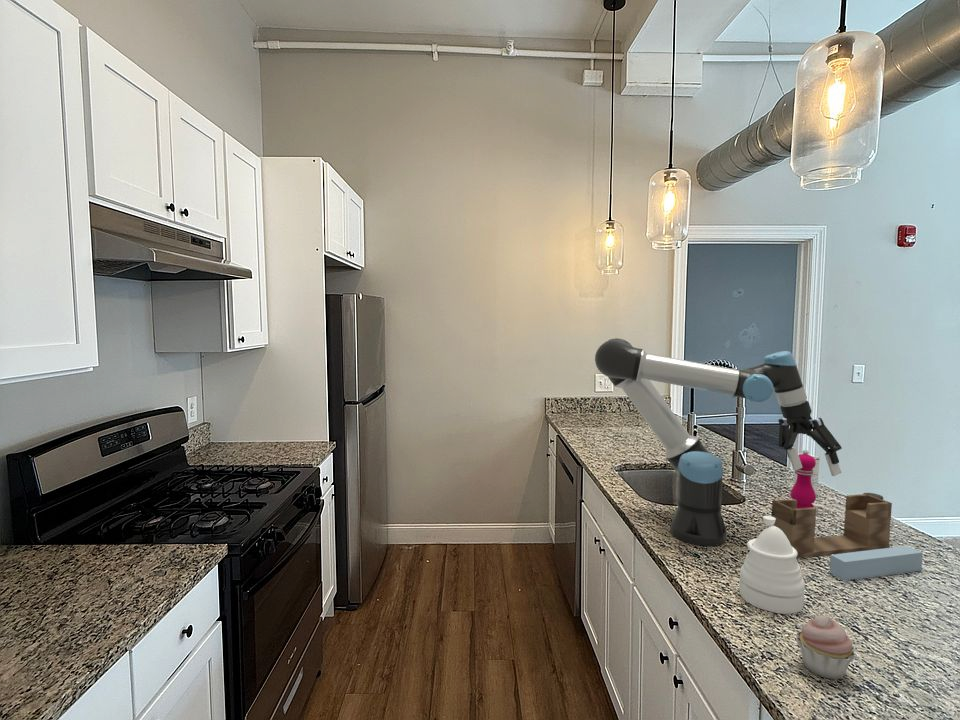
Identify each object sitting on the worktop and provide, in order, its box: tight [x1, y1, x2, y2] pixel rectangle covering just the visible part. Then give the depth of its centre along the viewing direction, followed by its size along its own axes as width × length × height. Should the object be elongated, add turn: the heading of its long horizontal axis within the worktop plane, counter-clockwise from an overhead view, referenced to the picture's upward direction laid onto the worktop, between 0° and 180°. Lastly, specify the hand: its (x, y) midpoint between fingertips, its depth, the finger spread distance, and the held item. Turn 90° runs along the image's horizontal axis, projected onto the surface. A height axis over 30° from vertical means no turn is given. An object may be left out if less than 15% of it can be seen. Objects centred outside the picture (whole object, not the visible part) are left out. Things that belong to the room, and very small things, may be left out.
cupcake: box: [795, 615, 857, 680], centre depth 95 cm, size 9×9×10 cm
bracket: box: [771, 493, 893, 559], centre depth 145 cm, size 31×8×13 cm, turn 101°
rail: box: [829, 545, 923, 581], centre depth 132 cm, size 24×4×5 cm, turn 103°
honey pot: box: [738, 515, 806, 615], centre depth 119 cm, size 13×13×18 cm
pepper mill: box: [790, 449, 817, 509], centre depth 174 cm, size 7×7×20 cm
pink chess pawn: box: [792, 452, 820, 497], centre depth 188 cm, size 6×6×14 cm
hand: (816, 471), depth 155 cm, fingers open, 13 cm apart
